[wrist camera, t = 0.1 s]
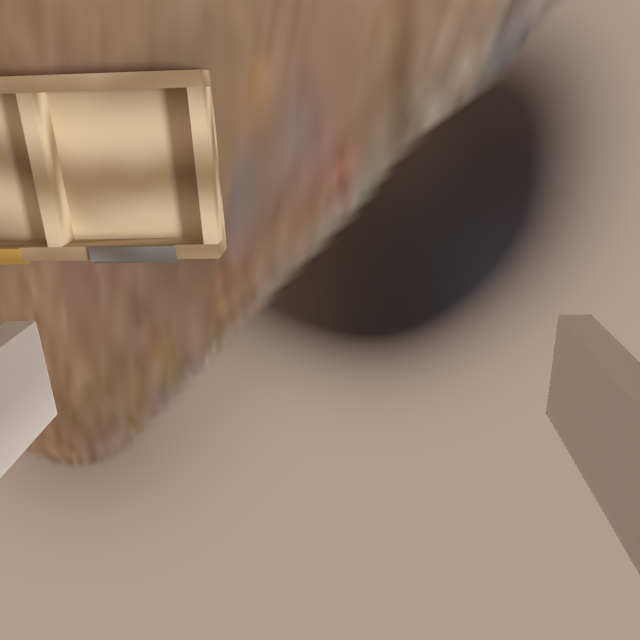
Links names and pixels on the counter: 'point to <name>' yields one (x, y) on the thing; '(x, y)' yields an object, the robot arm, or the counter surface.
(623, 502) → the robot arm
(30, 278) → the counter surface
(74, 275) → the counter surface
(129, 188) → the divided compartment tray
